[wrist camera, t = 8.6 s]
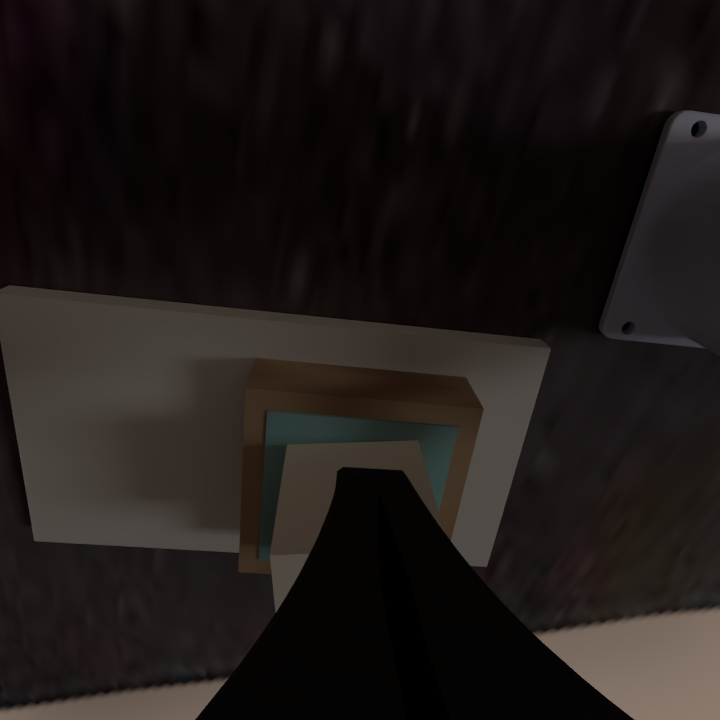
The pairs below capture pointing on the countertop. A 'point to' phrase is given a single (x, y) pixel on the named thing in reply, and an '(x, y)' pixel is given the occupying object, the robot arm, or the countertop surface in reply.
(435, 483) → the walnut block
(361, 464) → the cream block
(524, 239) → the countertop surface
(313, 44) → the countertop surface
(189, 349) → the baseplate
